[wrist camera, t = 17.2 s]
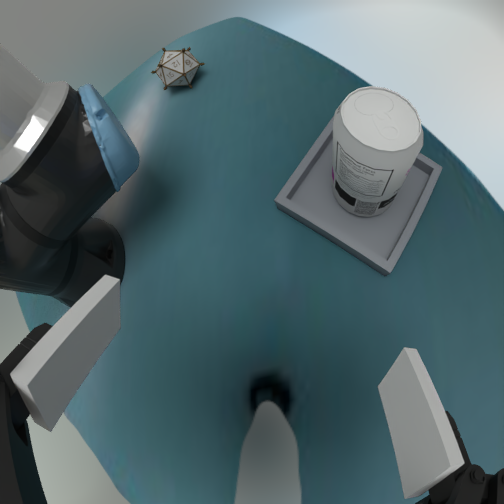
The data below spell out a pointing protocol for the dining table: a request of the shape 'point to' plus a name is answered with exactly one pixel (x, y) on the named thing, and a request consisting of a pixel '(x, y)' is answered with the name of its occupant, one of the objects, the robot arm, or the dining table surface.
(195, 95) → the dining table surface
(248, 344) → the dining table surface
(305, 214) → the tray
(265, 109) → the dining table surface
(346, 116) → the supplement can
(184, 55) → the game die
